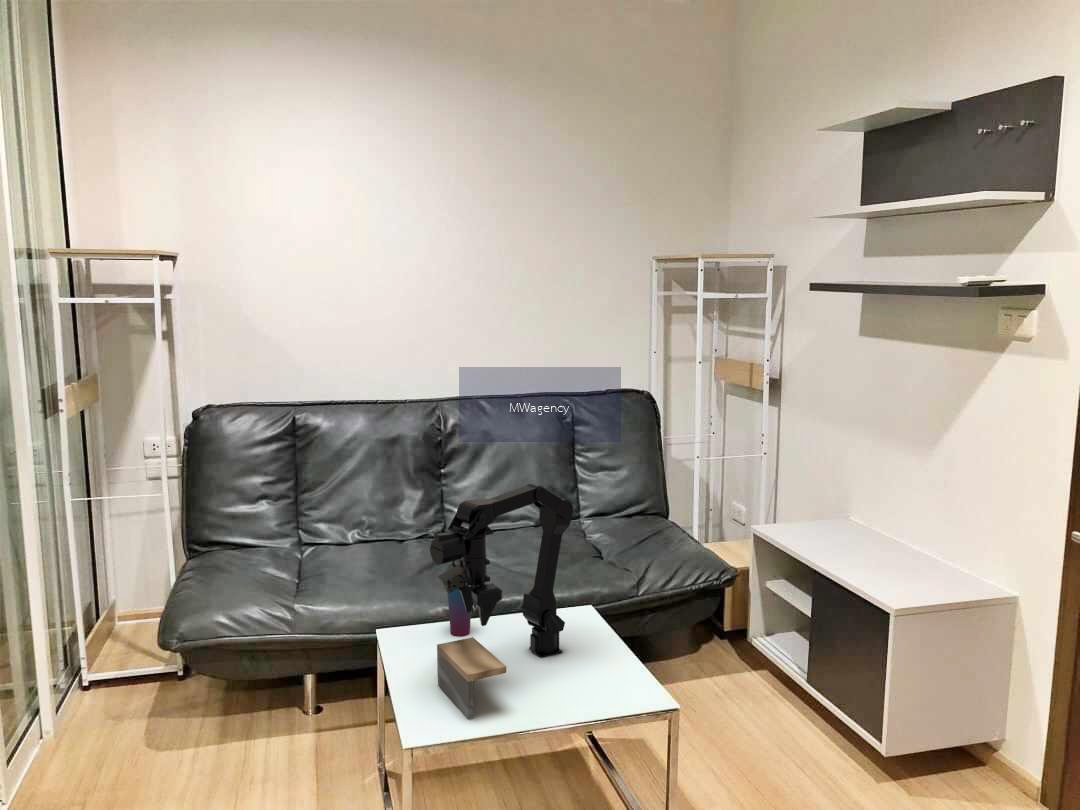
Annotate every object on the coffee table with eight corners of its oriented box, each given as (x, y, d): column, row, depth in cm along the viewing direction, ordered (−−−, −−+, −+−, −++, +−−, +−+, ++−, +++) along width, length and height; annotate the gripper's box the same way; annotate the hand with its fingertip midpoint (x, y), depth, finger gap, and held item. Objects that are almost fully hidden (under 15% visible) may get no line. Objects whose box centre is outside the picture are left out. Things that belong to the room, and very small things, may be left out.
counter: (473, 677, 202) (473, 637, 200) (506, 710, 186) (506, 666, 185) (437, 685, 197) (437, 644, 196) (468, 719, 182) (467, 674, 180)
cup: (469, 641, 223) (468, 586, 221) (444, 639, 224) (443, 584, 222) (476, 631, 229) (475, 577, 227) (451, 629, 231) (451, 575, 229)
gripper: (428, 549, 204) (430, 612, 206) (456, 572, 187) (458, 640, 190) (471, 542, 209) (473, 603, 211) (502, 564, 192) (504, 630, 195)
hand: (476, 618), depth 201 cm, fingers open, 9 cm apart
